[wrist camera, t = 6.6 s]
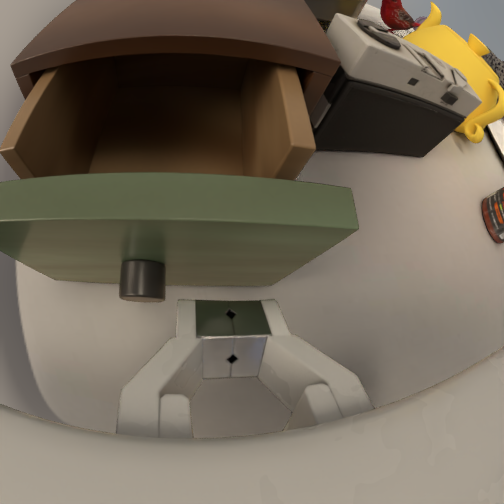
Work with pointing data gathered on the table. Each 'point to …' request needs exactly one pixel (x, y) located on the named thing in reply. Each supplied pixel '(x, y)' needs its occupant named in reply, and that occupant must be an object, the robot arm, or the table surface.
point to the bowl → (495, 67)
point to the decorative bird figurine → (396, 16)
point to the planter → (335, 8)
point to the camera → (387, 94)
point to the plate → (497, 136)
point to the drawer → (167, 175)
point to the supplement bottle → (494, 214)
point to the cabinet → (185, 36)
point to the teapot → (464, 70)
